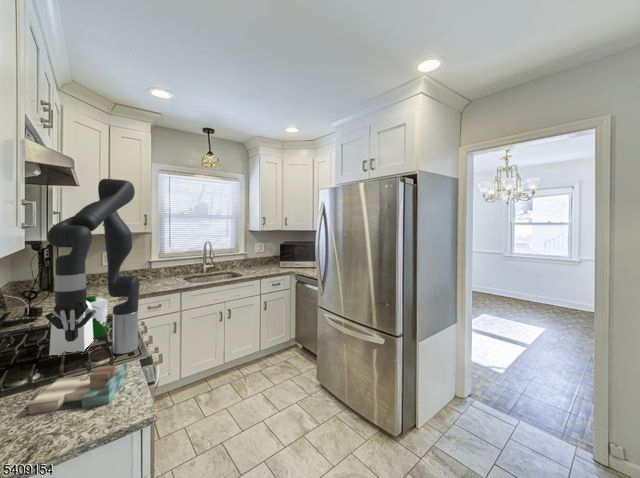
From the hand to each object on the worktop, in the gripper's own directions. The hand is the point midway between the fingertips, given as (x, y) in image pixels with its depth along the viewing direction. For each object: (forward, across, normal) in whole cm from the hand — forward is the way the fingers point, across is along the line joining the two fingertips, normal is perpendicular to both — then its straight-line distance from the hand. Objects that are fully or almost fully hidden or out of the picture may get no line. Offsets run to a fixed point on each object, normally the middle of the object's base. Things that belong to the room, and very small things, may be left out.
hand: (71, 340), depth 88 cm
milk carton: (+19, +17, -54) cm, 60 cm away
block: (+16, -9, +1) cm, 18 cm away
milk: (+19, +19, -39) cm, 47 cm away
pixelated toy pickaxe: (+18, -3, 0) cm, 19 cm away
